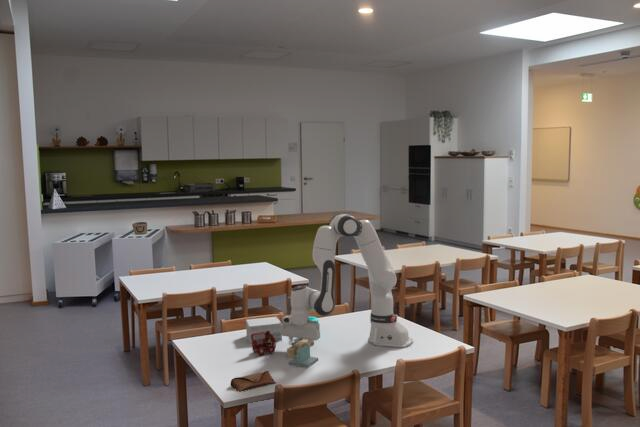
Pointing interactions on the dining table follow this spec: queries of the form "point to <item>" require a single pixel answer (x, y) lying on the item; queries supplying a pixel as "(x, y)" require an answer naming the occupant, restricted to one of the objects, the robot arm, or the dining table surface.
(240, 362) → the dining table surface
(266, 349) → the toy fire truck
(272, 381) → the sunglasses case
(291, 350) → the oak bar
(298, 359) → the fulcrum
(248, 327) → the supplement box
